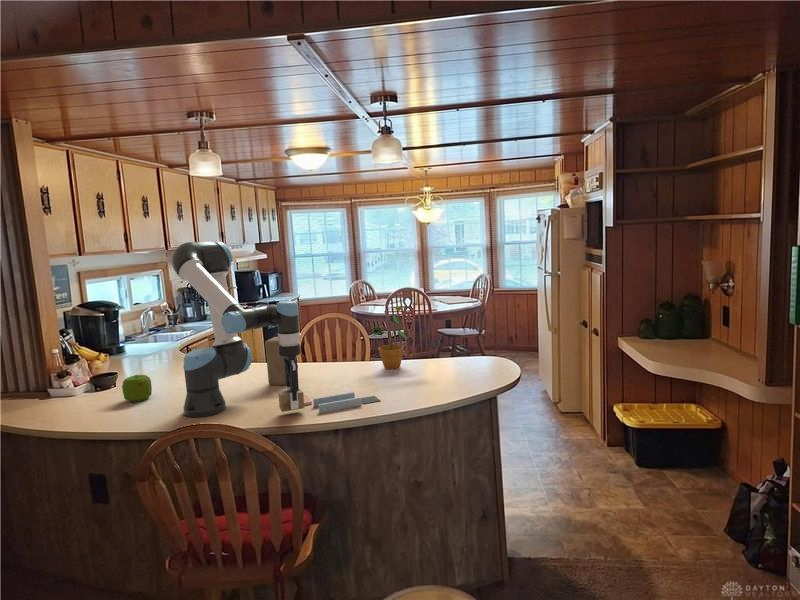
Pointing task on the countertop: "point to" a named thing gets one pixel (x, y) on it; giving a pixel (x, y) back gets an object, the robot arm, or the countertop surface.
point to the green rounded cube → (137, 388)
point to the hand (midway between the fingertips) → (293, 406)
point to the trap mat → (369, 400)
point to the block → (285, 400)
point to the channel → (337, 402)
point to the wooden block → (275, 363)
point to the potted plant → (391, 346)
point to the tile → (307, 400)
